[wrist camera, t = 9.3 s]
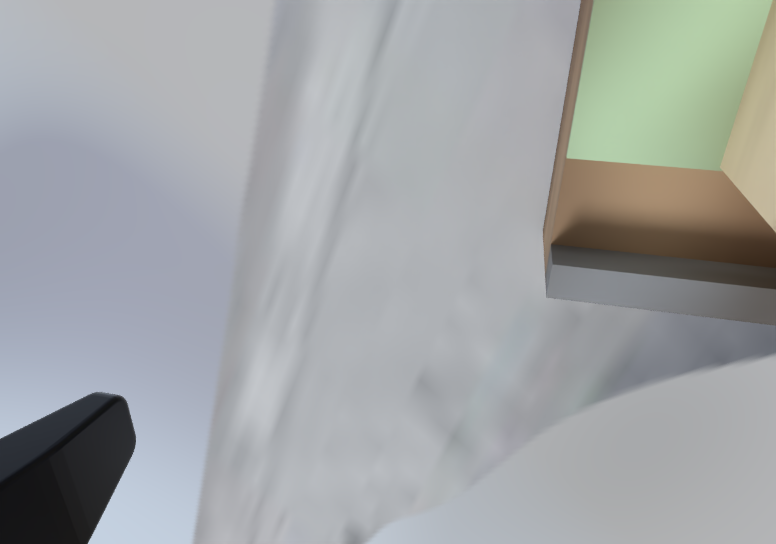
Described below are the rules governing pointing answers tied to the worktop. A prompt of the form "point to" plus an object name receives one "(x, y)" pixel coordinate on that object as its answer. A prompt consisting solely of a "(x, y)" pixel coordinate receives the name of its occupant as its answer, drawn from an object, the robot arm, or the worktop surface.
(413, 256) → the worktop surface
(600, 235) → the open box
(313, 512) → the worktop surface
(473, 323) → the worktop surface
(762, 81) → the tan green-striped carton
